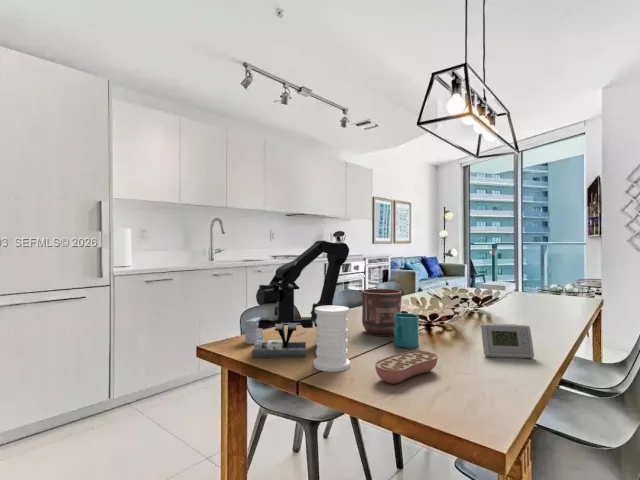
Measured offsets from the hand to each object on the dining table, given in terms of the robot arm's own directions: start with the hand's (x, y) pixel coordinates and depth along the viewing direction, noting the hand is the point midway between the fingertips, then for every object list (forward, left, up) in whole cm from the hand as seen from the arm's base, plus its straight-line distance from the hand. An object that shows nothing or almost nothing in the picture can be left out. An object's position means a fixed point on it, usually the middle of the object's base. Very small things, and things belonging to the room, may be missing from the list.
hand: (285, 347), depth 131 cm
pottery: (-40, -28, -2) cm, 49 cm away
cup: (-44, -7, -2) cm, 45 cm away
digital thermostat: (-76, +7, -2) cm, 76 cm away
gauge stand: (+2, 0, -2) cm, 3 cm away
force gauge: (+5, +1, -1) cm, 5 cm away
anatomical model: (-36, +24, -2) cm, 43 cm away
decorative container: (-15, +14, -2) cm, 21 cm away
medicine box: (+13, -16, -2) cm, 21 cm away
